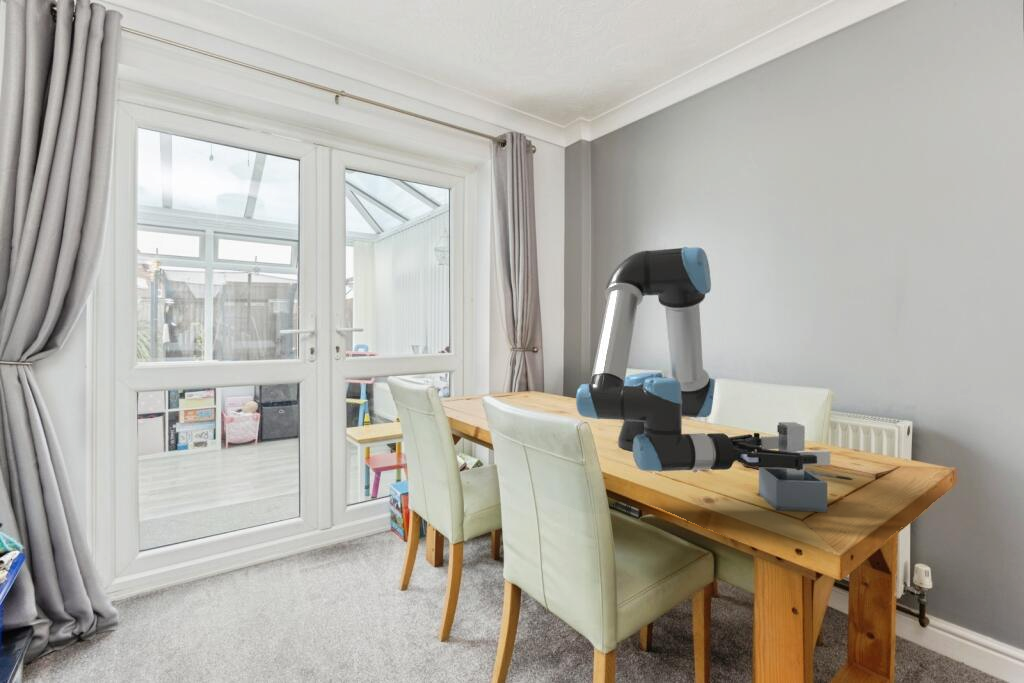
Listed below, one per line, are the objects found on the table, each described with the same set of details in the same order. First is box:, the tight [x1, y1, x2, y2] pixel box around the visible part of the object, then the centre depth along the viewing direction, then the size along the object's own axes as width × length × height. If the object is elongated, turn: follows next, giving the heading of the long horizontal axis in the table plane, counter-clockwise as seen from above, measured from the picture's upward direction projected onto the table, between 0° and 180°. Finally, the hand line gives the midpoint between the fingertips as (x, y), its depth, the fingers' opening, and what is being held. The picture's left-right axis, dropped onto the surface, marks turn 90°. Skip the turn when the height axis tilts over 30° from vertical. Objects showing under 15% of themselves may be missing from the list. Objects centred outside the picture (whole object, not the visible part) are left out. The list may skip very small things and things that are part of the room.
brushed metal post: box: [776, 421, 806, 481], centre depth 101 cm, size 4×4×16 cm
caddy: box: [758, 467, 828, 513], centre depth 101 cm, size 10×10×6 cm
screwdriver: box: [740, 462, 854, 481], centre depth 120 cm, size 25×3×3 cm, turn 49°
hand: (808, 449), depth 101 cm, fingers open, 12 cm apart
